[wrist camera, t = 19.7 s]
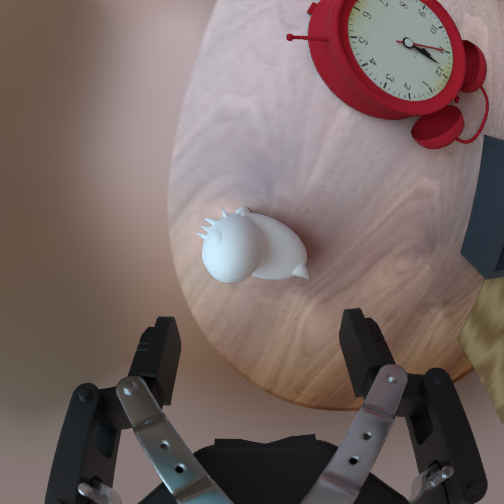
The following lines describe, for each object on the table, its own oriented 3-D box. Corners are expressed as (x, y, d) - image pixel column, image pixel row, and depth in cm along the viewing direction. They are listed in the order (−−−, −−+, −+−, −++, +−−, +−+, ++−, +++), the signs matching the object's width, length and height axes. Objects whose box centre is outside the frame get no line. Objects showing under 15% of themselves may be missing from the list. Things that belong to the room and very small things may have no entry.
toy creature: (218, 181, 20) (206, 217, 14) (317, 227, 22) (338, 275, 16) (194, 234, 22) (177, 285, 16) (287, 273, 24) (297, 328, 18)
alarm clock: (340, -66, 8) (539, 73, 8) (335, -25, 13) (495, 78, 14) (267, 56, 13) (489, 198, 13) (280, 75, 18) (449, 177, 18)
